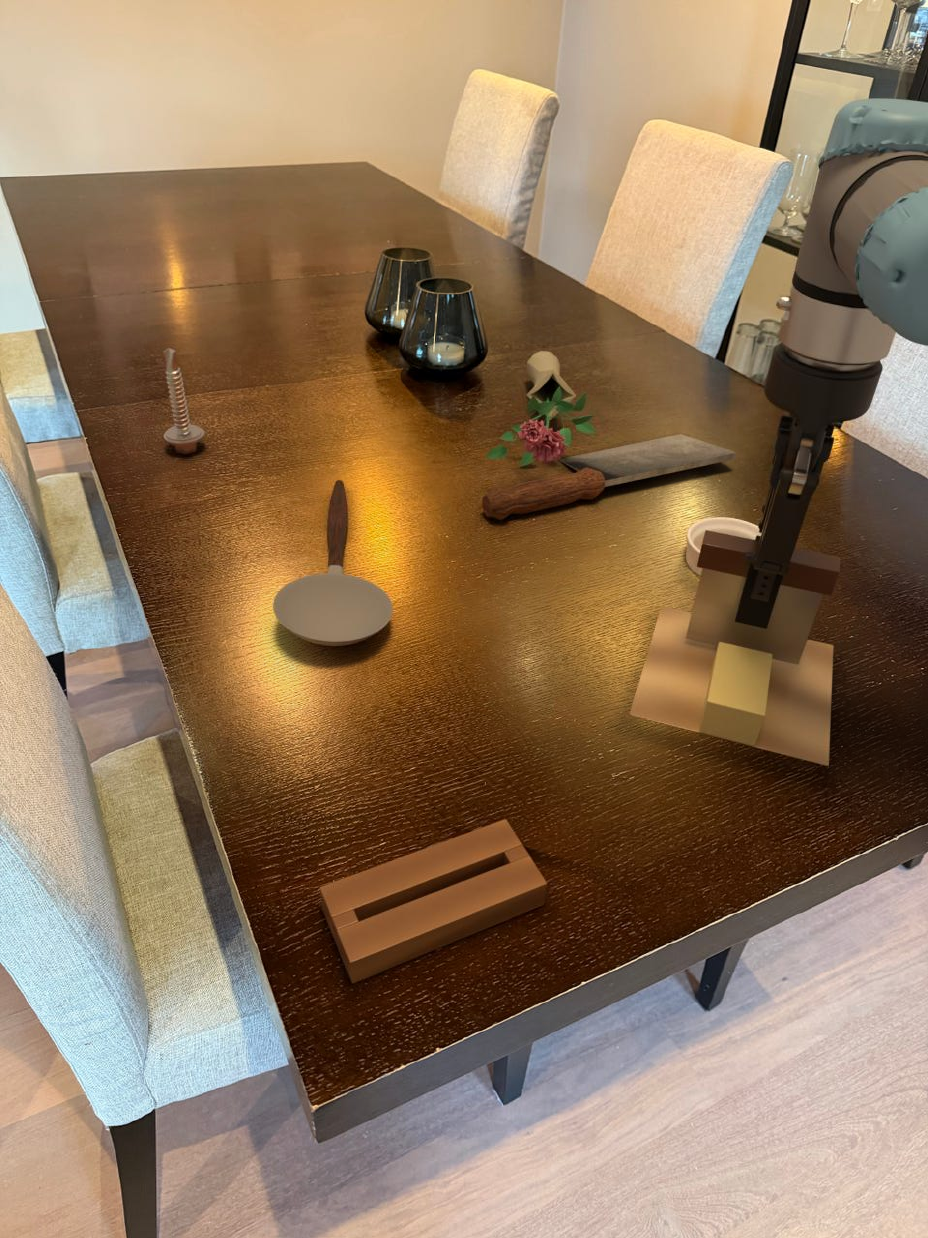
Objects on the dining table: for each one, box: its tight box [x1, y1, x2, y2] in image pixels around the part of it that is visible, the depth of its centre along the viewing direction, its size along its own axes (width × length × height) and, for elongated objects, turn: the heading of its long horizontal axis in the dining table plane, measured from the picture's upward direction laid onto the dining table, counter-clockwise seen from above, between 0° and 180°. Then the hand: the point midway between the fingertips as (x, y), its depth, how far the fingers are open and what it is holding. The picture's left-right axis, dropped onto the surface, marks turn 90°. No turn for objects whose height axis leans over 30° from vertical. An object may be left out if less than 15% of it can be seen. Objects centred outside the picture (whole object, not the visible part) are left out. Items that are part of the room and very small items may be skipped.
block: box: [319, 818, 548, 985], centre depth 60 cm, size 6×14×2 cm, turn 116°
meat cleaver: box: [481, 433, 736, 521], centre depth 108 cm, size 34×11×4 cm, turn 116°
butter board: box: [629, 606, 834, 767], centre depth 79 cm, size 16×16×2 cm
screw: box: [163, 347, 206, 455], centre depth 107 cm, size 13×5×5 cm
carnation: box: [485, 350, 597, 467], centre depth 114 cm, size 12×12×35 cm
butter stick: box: [699, 642, 772, 747], centre depth 74 cm, size 8×4×4 cm, turn 161°
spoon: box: [272, 479, 394, 647], centre depth 92 cm, size 11×33×3 cm, turn 5°
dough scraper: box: [686, 530, 841, 665], centre depth 77 cm, size 2×11×11 cm, turn 71°
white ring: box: [685, 516, 761, 577], centre depth 92 cm, size 9×9×4 cm
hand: (752, 612), depth 78 cm, fingers closed on dough scraper, 2 cm apart
